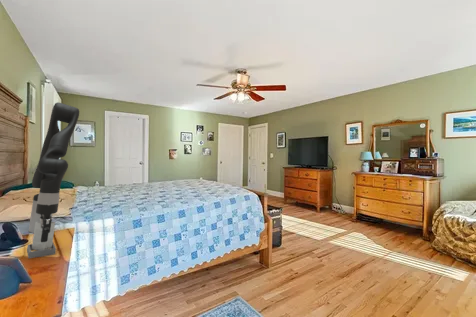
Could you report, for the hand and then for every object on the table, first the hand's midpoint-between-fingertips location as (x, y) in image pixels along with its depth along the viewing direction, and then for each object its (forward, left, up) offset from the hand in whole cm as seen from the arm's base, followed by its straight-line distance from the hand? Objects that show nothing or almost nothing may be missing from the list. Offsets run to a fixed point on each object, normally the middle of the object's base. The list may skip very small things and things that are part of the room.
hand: (42, 239), depth 101 cm
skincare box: (0, 0, -5) cm, 5 cm away
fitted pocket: (0, 0, -6) cm, 6 cm away
